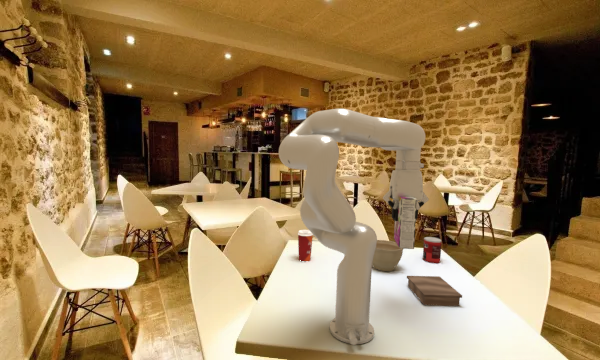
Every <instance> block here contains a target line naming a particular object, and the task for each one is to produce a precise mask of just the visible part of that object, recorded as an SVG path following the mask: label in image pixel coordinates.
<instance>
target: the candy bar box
mask: <svg viewBox="0 0 600 360" xmlns="http://www.w3.org/2000/svg"><path fill="white" fill-rule="evenodd" d="M416 202H417V199H416V198H414V197H400V199H399V204H398V206H397V209H398V221H394V231H393V233H394V234H393V235H394V236H393V239H394V240H393V241H394V242H396V243H397V245H398V247H399V248H403V250H404V249H405V250H407V249H408V250H414V249H415V237H416V222H417V220H416Z"/></svg>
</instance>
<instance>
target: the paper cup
mask: <svg viewBox="0 0 600 360" xmlns="http://www.w3.org/2000/svg"><path fill="white" fill-rule="evenodd" d="M313 237H314V235H313V234H312V233H311V232H310V230H309V229H300V230H298V232H297V242H298V243H297V245H298V247H297V248H298V260H299V261H300V260H301V261H300V262H302V261H308V262H310V261H311V258H312V257H311V256H312V246H313Z"/></svg>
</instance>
